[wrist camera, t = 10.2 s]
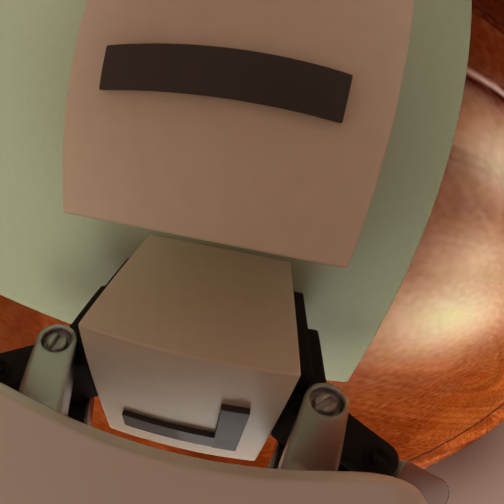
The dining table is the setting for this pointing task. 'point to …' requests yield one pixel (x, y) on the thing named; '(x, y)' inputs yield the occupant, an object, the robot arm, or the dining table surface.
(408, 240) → the board
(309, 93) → the tile
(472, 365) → the dining table surface
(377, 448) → the robot arm
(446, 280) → the dining table surface
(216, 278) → the tile
